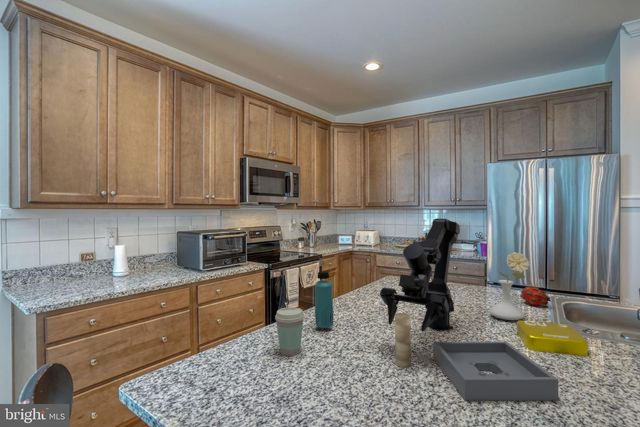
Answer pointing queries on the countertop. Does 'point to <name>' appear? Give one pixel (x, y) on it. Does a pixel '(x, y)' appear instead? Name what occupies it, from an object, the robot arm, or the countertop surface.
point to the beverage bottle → (323, 301)
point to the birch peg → (403, 340)
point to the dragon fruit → (534, 296)
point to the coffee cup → (289, 330)
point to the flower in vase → (506, 306)
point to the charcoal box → (500, 357)
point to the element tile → (552, 338)
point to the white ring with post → (381, 302)
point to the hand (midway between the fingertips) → (405, 327)
